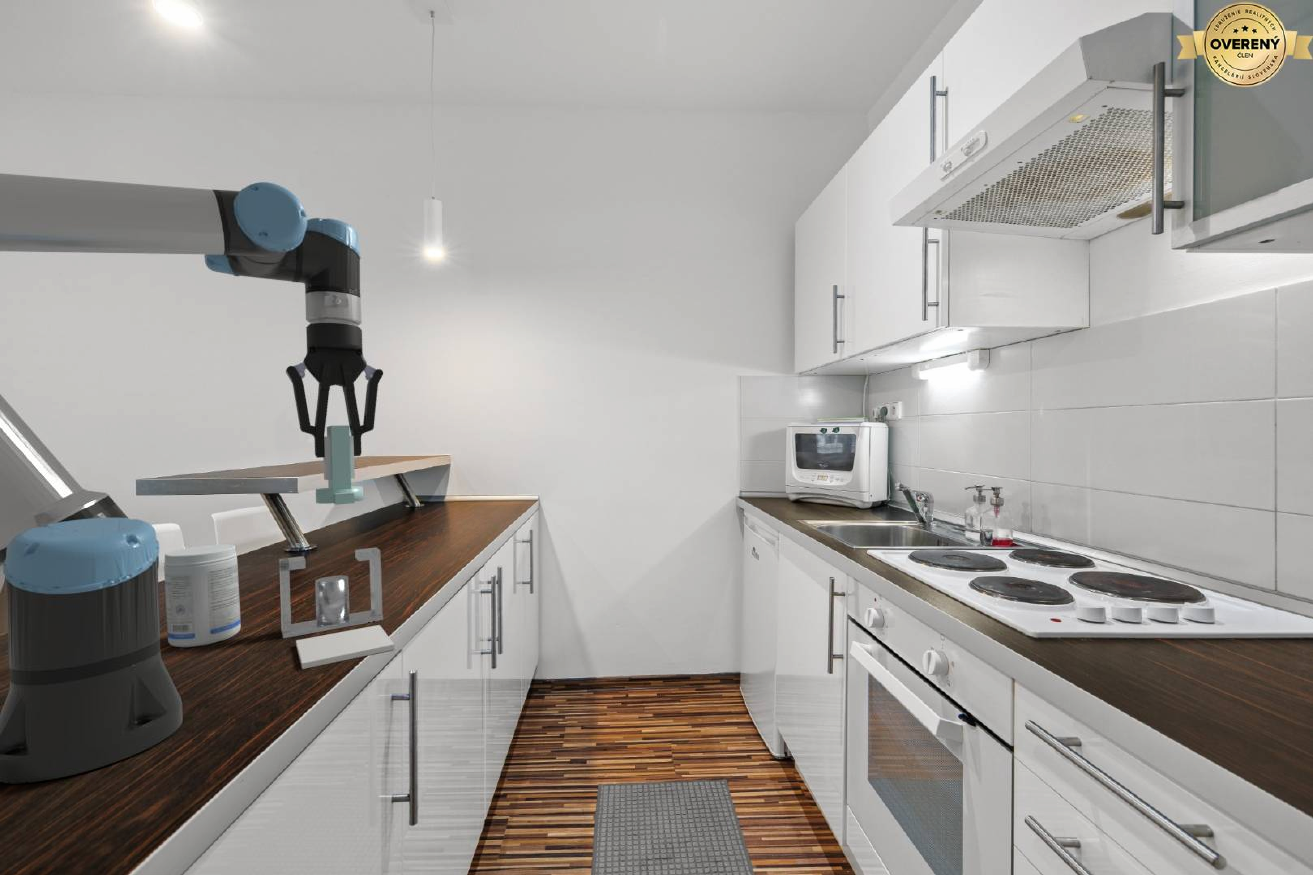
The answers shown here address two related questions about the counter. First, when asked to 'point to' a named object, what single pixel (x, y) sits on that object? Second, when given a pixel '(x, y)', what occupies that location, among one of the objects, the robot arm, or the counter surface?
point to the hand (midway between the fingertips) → (339, 478)
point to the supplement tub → (202, 595)
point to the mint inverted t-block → (339, 471)
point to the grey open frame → (331, 597)
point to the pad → (343, 646)
